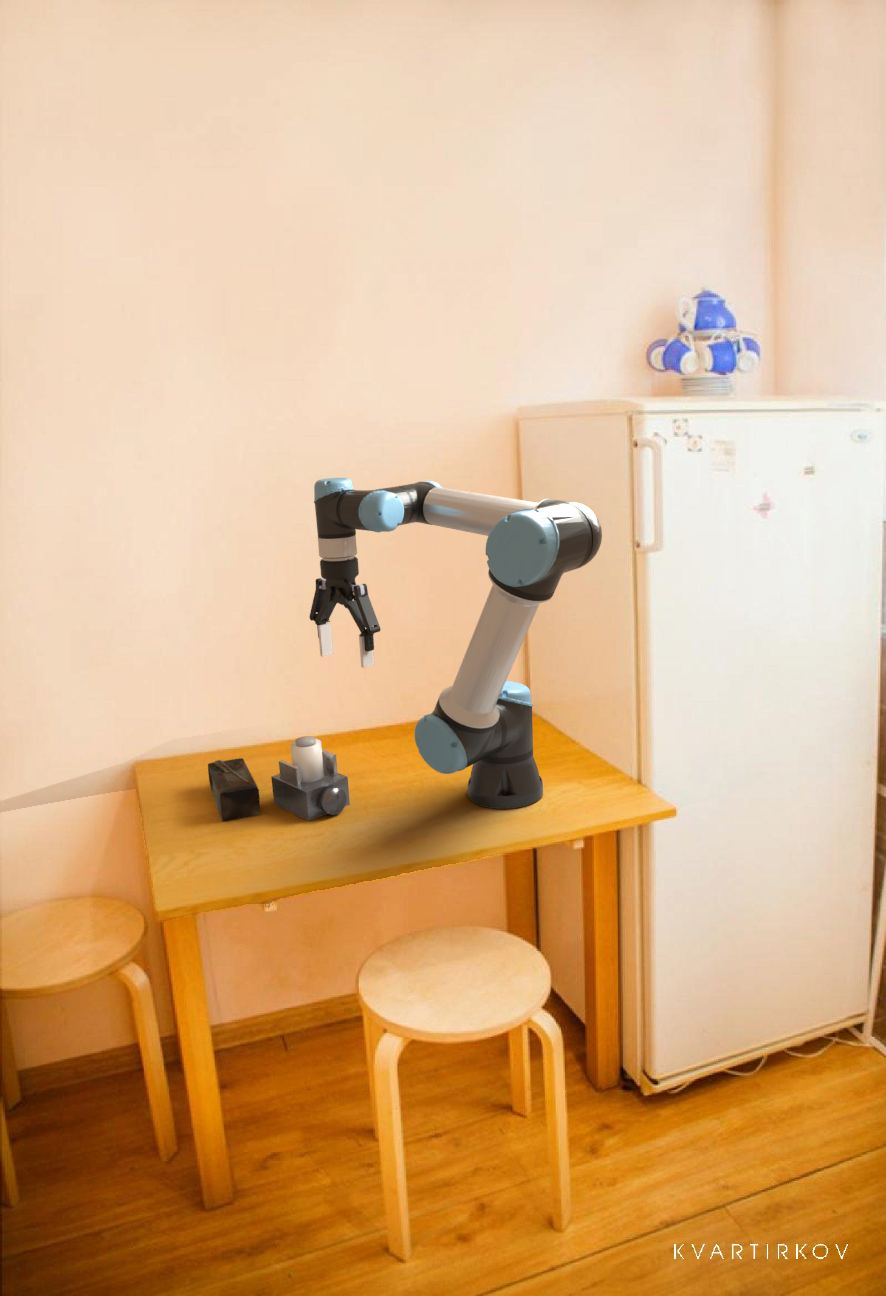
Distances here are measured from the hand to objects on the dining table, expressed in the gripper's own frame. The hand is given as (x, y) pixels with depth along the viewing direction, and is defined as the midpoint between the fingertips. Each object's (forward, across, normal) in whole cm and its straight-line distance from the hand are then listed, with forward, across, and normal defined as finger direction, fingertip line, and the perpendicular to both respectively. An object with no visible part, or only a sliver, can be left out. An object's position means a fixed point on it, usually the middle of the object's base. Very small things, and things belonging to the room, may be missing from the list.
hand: (346, 660), depth 201 cm
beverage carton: (+27, +12, +22) cm, 37 cm away
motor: (+27, -3, +13) cm, 30 cm away
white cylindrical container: (+21, -2, +13) cm, 25 cm away
